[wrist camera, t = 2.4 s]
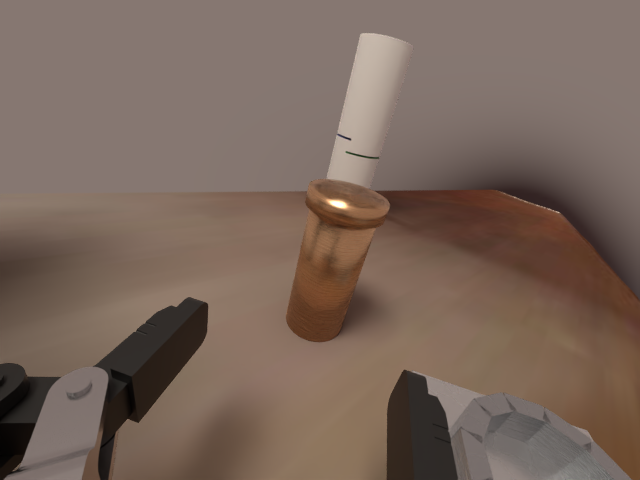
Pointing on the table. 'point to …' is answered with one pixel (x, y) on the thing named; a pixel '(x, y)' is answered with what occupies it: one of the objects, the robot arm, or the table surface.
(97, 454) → the robot arm
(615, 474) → the duct collar
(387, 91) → the cylindrical container
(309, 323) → the copper pipe
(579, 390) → the table surface
